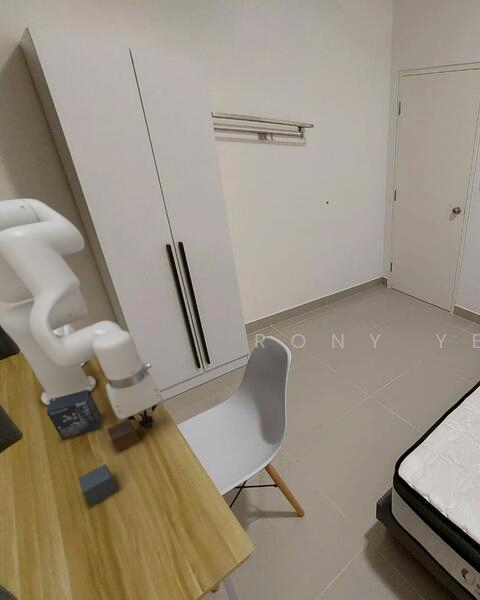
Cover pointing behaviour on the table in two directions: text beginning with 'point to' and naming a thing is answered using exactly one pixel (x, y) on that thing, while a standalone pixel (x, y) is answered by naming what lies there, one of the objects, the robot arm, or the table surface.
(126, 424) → the walnut block
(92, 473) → the slate block
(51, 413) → the box
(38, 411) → the table surface
